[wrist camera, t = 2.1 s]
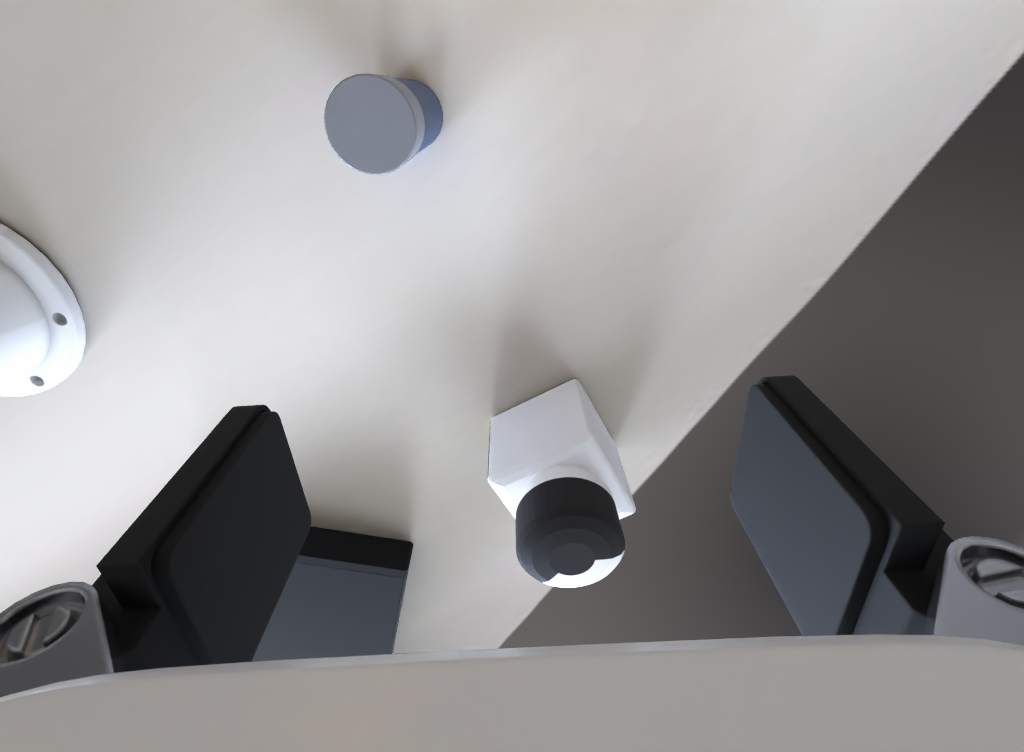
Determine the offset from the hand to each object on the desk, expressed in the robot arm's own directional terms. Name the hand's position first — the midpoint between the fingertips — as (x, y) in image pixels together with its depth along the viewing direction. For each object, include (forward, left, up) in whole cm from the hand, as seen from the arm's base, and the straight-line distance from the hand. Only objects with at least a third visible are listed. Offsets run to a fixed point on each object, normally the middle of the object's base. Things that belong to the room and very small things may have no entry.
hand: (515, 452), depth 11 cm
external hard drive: (-13, -38, -24) cm, 47 cm away
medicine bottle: (+5, -15, -24) cm, 29 cm away
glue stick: (-6, +5, -24) cm, 25 cm away
